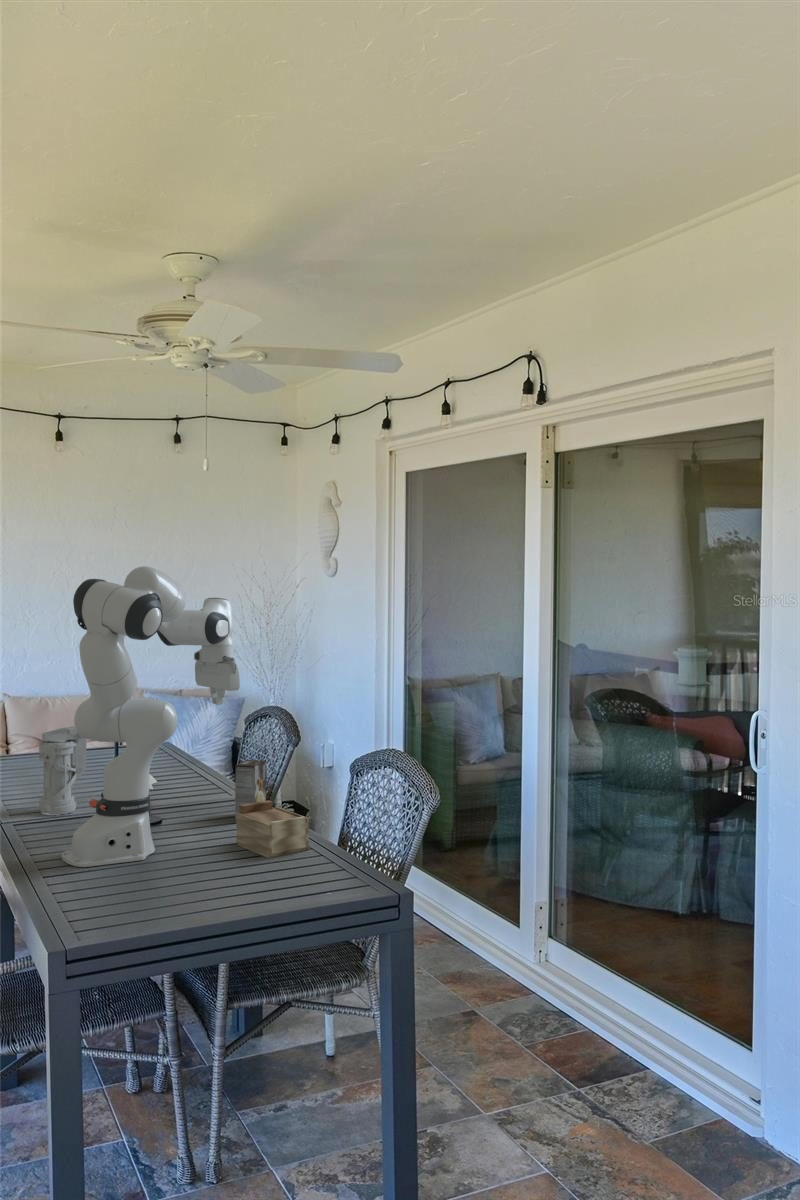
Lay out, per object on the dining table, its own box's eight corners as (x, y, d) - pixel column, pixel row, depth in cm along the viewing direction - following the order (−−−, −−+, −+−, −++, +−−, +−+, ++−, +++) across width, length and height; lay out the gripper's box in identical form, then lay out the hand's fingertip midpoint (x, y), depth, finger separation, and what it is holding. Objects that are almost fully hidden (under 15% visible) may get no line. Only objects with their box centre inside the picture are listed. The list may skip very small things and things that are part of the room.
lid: (269, 828, 244) (269, 817, 244) (236, 815, 257) (236, 805, 257) (304, 822, 251) (304, 811, 251) (271, 810, 264) (271, 800, 264)
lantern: (43, 817, 284) (43, 731, 283) (36, 810, 293) (36, 727, 292) (88, 812, 290) (88, 728, 290) (80, 805, 299) (80, 724, 299)
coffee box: (245, 813, 291) (245, 759, 291) (266, 814, 290) (266, 760, 289) (234, 820, 282) (234, 764, 282) (255, 821, 281) (255, 765, 280)
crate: (268, 857, 243) (268, 823, 243) (236, 844, 256) (236, 811, 256) (308, 849, 251) (308, 816, 251) (275, 837, 263) (276, 805, 263)
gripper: (245, 657, 270) (245, 707, 270) (210, 652, 286) (210, 700, 286) (225, 658, 266) (225, 708, 266) (190, 653, 282) (190, 701, 282)
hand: (217, 704), depth 276 cm, fingers closed
